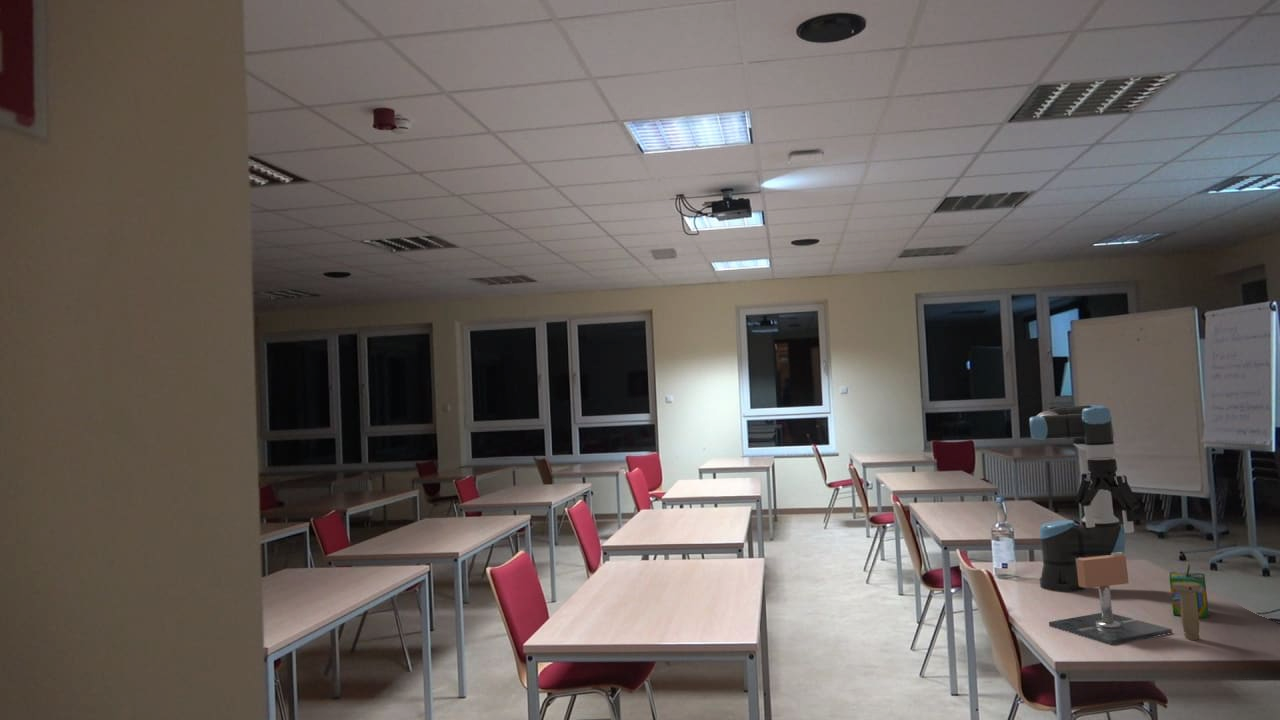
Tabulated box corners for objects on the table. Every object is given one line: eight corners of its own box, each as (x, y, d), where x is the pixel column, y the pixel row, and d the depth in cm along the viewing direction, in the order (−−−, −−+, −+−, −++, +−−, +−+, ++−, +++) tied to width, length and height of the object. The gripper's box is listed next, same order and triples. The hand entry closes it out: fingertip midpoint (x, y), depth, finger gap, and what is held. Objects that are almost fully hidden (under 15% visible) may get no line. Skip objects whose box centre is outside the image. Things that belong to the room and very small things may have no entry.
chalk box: (1173, 608, 244) (1167, 560, 245) (1208, 610, 239) (1202, 562, 240) (1172, 615, 237) (1166, 566, 238) (1209, 618, 231) (1203, 568, 232)
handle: (1209, 641, 211) (1203, 585, 212) (1183, 641, 213) (1176, 586, 214) (1201, 636, 216) (1194, 581, 217) (1175, 636, 217) (1169, 582, 219)
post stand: (1106, 615, 241) (1101, 574, 242) (1172, 633, 220) (1166, 588, 221) (1049, 626, 235) (1044, 583, 236) (1111, 645, 214) (1105, 598, 215)
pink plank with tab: (1078, 586, 229) (1075, 556, 230) (1121, 581, 231) (1117, 551, 232) (1085, 588, 226) (1082, 557, 227) (1128, 583, 228) (1125, 553, 229)
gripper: (1148, 458, 222) (1157, 533, 220) (1077, 456, 246) (1085, 523, 244) (1127, 461, 220) (1136, 536, 218) (1058, 458, 244) (1066, 526, 242)
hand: (1109, 529), depth 231 cm, fingers open, 13 cm apart
